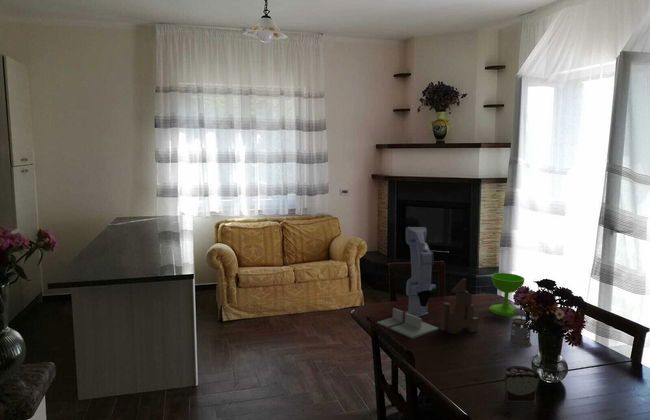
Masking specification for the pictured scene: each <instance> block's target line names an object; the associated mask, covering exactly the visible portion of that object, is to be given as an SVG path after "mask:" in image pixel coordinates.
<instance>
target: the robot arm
mask: <svg viewBox="0 0 650 420" xmlns="http://www.w3.org/2000/svg"><path fill="white" fill-rule="evenodd" d="M427 233H428V230H427V228H426V226H407V227H405V242H406V245H408V246H409V248H410V251H409V252H410V268H411V269H410V271H411V272H410V273H411V277H410V278H409V279H407V281H406V284H405V286H406V287H405V294H406V296H407V297H408V307H407V308H408V310H407V311H405V312H406V313H409V314H411V315H414V316H416V317H419V318H421V317H423V316H426V315H429V312H428V305H429V304H428V301H429V299H430V297H431V295H432V294H433V292H432V291H433V290H436V289H437V285H436V284H434V283H432V267H433V265H434V262H435V258H434V252H433V251H431V250H430V247H429V245H428V243H426V239H427V236H428V235H427Z"/></svg>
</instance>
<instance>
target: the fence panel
mask: <svg viewBox="0 0 650 420" xmlns="http://www.w3.org/2000/svg"><path fill="white" fill-rule="evenodd" d="M422 319H423V318H421V317H416V316H414V315H411V314H409V313H405V323H407V324H410V325H412V326H414V327H417V328H419V329H420V328H421V324H422V322H423V320H422Z"/></svg>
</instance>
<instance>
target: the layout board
mask: <svg viewBox="0 0 650 420" xmlns="http://www.w3.org/2000/svg"><path fill="white" fill-rule="evenodd" d="M376 324H377V325H380V326H382V327H384V328H386V329H389V330H391V331H392V332H393V331H394V332H396V333H398V334H399V335H403V336H404V337H407V338H409V339H411V340H413V339H415V338H418V337H422V336H424V335H427V334H430V333H432V332H436V331H438V330H439V327H437V326H434V325H432V324H429V323H426V322H425V321H422V324H421V328H420V329H419V328H417V327H414V326H412V325H410V324H407V323H403V322H400V321H398V320H395V319H393V318H392V317H388V318H385V319H382V320H379V321H377V322H376Z"/></svg>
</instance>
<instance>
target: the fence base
mask: <svg viewBox="0 0 650 420" xmlns="http://www.w3.org/2000/svg"><path fill="white" fill-rule="evenodd" d="M405 313H406V311H403V310H401V309H397V308H395V307H394V308H392V317H391V318H393V319H395V320H398V321H400V322H403V323H405Z"/></svg>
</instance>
